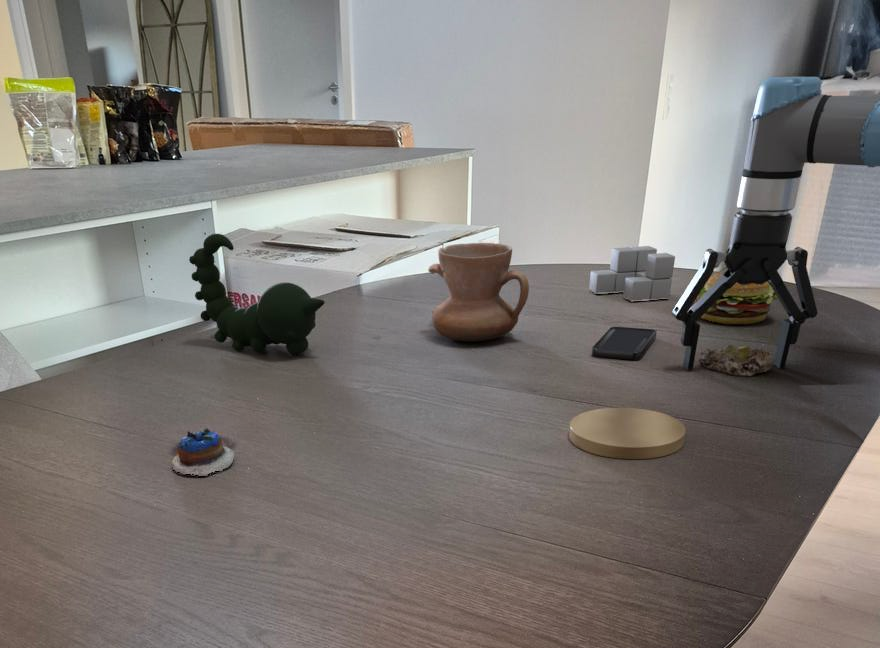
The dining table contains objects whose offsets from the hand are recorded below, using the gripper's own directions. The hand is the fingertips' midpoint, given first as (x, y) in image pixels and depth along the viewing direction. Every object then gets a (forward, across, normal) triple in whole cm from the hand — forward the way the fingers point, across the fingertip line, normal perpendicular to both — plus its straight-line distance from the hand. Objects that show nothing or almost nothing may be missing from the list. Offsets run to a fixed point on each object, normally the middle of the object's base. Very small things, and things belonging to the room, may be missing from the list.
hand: (733, 367), depth 128 cm
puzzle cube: (+1, +6, -50) cm, 50 cm away
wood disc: (0, +22, +28) cm, 36 cm away
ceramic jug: (+1, +38, -21) cm, 43 cm away
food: (0, -9, -30) cm, 31 cm away
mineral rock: (0, 0, 0) cm, 0 cm away
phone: (0, +14, -13) cm, 19 cm away
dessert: (+1, +74, +34) cm, 81 cm away
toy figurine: (+1, +74, -16) cm, 75 cm away
